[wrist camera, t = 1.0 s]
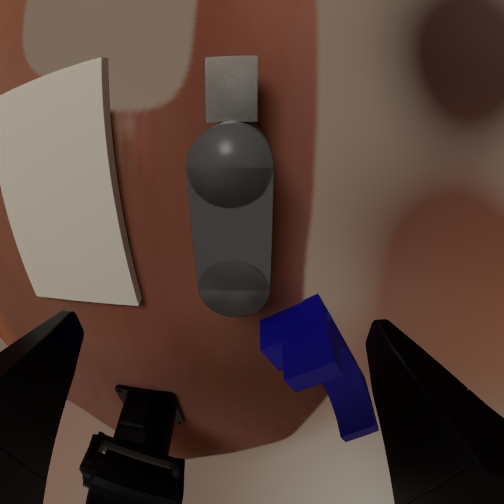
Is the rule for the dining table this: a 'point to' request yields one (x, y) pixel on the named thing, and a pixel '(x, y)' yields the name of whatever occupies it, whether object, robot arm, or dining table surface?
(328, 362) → the cable clip
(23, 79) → the dining table surface
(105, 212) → the mat
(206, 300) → the connector
